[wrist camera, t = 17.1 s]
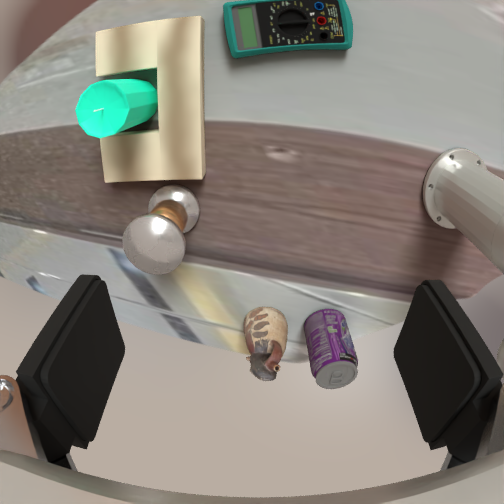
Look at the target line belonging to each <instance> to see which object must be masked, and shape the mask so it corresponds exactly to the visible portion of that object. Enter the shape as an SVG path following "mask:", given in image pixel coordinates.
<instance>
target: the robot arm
mask: <svg viewBox="0 0 504 504" xmlns="http://www.w3.org/2000/svg"><path fill="white" fill-rule="evenodd" d="M423 202H424V206H425V209H426V211H427V213H428V215H429V216H430V217H431V218H432V220H433V221H434V222H436V223H437V224H438V225H440V226H442V227H445V228H450V229H454V228H457V229H458V230H459V231H460V232H461V233H462V234H463V235H465V236H466V237H467V238H468V239H469V240H470V241H471V242H472V243H473V244H474V245H475V246H476V247H477V248H478V249H479V250H480V251H481V252H482V253H483V254H484V255H485V256H486V257H487V258H488V259H489V260H490V261H491V262H492V263H493V264H494V265H495V266H496V267H497V268H498V269H499V270H500V271H501V272H502V273H503V274H504V180H503V179H501V178H499V177H498V176H496V175H494V174H492V173H490V172H489V171H487V168H486V166H485V164H484V162H483V161H482V159H481V158H480V157H479V156H478V155H477V154H475V153H474V152H472V151H470V150H467V149H463V148H454V149H451V150H448V151H446V152H444V153H442V154H441V155H440V156H439V157H438V158H437V159H436V160H435V161H434V162H433V163H432V165H431V167H430V168H429V170H428V172H427V175H426V177H425V181H424V185H423ZM124 354H125V345H124V342H123V339H122V336H121V332H120V329H119V326H118V323H117V320H116V317H115V313H114V310H113V307H112V303H111V300H110V296H109V293H108V289H107V285H106V283H105V281H103V280H101V278H100V277H99V276H98V275H80V276H79V277H78V278H77V280H76V281H75V282H74V284H73V285H72V287H71V288H70V289H69V291H68V292H67V293H66V295H65V296H64V298H63V299H62V301H61V302H60V304H59V305H58V306H57V308H56V309H55V311H54V312H53V314H52V315H51V317H50V318H49V320H48V321H47V323H46V324H45V326H44V328H43V329H42V330H41V332H40V333H39V335H38V336H37V338H36V340H35V341H34V343H33V344H32V346H31V348H30V349H29V351H28V353H27V354H26V356H25V357H24V359H23V361H22V362H21V364H20V366H19V368H18V370H17V371H16V373H17V374H18V377H17V378H16V380H14V379H13V378H12V377H10V376H7V375H0V504H504V383H503V384H502V383H501V381H500V380H501V378H503V379H504V339H503V340H502V343H501V344H500V347H499V349H498V353H497V362H496V360H495V359H494V357H493V355H492V354H491V352H490V351H489V349H488V347H487V346H486V344H485V342H484V341H483V339H482V338H481V336H480V335H479V333H478V332H477V330H476V328H475V327H474V325H473V324H472V323H471V321H470V319H469V318H468V317H467V315H466V314H465V312H464V311H463V309H462V308H461V306H460V305H459V304H458V302H457V301H456V299H455V298H454V296H453V295H452V294H451V292H450V291H449V290H448V288H447V287H446V285H445V284H444V283H443V282H442V281H441V280H425V281H423V282H422V283H421V285H419V286H418V287H417V289H416V291H415V294H414V297H413V300H412V303H411V306H410V308H409V311H408V314H407V317H406V319H405V322H404V325H403V327H402V330H401V332H400V335H399V337H398V340H397V343H396V345H395V347H394V358H395V361H396V364H397V366H398V369H399V371H400V374H401V377H402V379H403V382H404V385H405V387H406V390H407V393H408V396H409V398H410V401H411V404H412V407H413V410H414V413H415V415H416V418H417V421H418V424H419V427H420V430H421V433H422V436H423V439H424V441H425V442H428V443H429V446H430V449H431V450H434V449H437V448H441V447H444V446H446V445H447V448H448V453H447V456H446V458H445V461H444V463H443V466H442V468H441V470H440V471H439V472H436V473H432V474H429V475H426V476H422V477H418V478H414V479H410V480H406V481H401V482H398V483H393V484H388V485H383V486H378V487H372V488H366V489H360V490H354V491H347V492H340V493H331V494H322V495H311V496H298V497H297V496H296V497H271V498H270V497H269V498H248V497H222V496H208V495H196V494H186V493H178V492H170V491H164V490H157V489H151V488H145V487H140V486H135V485H130V484H125V483H121V482H116V481H112V480H108V479H104V478H99V477H96V476H92V475H88V474H84V473H81V472H78V471H77V469H76V467H75V464H74V462H73V460H72V458H71V455H70V453H69V452H70V449H71V446H72V445H73V446H76V447H80V448H83V449H87V447H88V443H89V441H90V442H91V441H93V440H94V438H95V436H96V433H97V430H98V427H99V424H100V421H101V418H102V415H103V412H104V409H105V406H106V403H107V400H108V398H109V395H110V392H111V389H112V386H113V384H114V381H115V378H116V376H117V372H118V370H119V368H120V364H121V362H122V360H123V357H124Z"/></svg>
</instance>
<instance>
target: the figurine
mask: <svg viewBox="0 0 504 504" xmlns="http://www.w3.org/2000/svg"><path fill="white" fill-rule="evenodd" d="M244 334H245V337H246V343H247V348H248V350H249V352H250V353H251V356H250V357H246V359H247V360H248V361H250V363H251V369H250V372H251V373H252V374H253V375H254V376H255V377H257V378H258V379H260V380H263V381H271V380H274V379H275V378H276V374H277V372H278V371H279V370H280V366H279V365H278V363H279V362H280V360H281V358H282V356H283V354H284V352H285V349H286V343H287V334H288V325H287V322H286V319H285V317H284V315H283V314H282V313H281V312H280V311H278V310H277V309H274V308H271V307H259V308H256V309H254V310H252V311H250V312H249V313H248V314H247V315H246V317H245V322H244Z"/></svg>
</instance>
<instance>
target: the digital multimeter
mask: <svg viewBox="0 0 504 504" xmlns="http://www.w3.org/2000/svg"><path fill="white" fill-rule="evenodd" d="M223 11H224V22H225V29H226V35H227V40H228V44H229V48H230V52H231V55H232V57H233V58H242V57H248V56H254V55H260V54H266V53H274V52H283V51H293V50H319V49H328V50H346V49H349V48H351V47H352V39H353V23H352V17H351V14H350V11H349V8H348V6H347V4H346V1H345V0H246V1H235V2H227V3H225V4H224V5H223ZM340 11H341V12H340ZM341 17H342V18H341ZM342 23H343V24H342ZM343 29H344V30H343ZM306 31H307V32H306ZM321 43H324V44H321Z"/></svg>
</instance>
